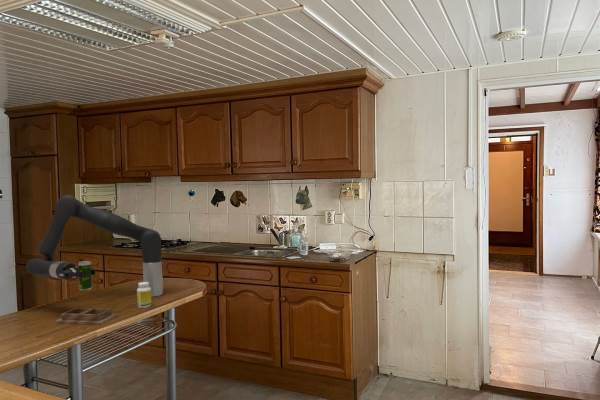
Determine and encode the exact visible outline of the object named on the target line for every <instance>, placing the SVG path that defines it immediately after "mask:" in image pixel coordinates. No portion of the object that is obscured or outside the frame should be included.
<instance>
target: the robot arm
mask: <svg viewBox="0 0 600 400" xmlns="http://www.w3.org/2000/svg"><path fill="white" fill-rule="evenodd" d="M71 217H74V218H76V219H80V220H82V221H86V222H88V223H89V224H91V225H93V226H94V227H97V228H98V229H101V230H102V231H105V232H108V233H111V234H114V235H118V236H122V237H127V238H130V239H133V240H135V241H137V242H139V243H140V244H141V251H142V252H141V253H142V254H141V257H142V271H143V272H142V275H143V282H149V286H148V287H150V288H151V298H152V297H159V296H162V295H163V294H164V282H163V281H164V280H163V279H164V278H163V266H162V265H163V264H162V263H163V261H162V259H163V257H162V238H161V234H160V233H159V232H158V231H157V230H154V229H151V228H147V227H144V226H142V225H138V224H136V223H135V222H132V221H131V220H128V219H126V218H125V217H122V216H121V215H118V214H116V213H113V212H110V211H107V210H104V209H100V208H97V207H94V206H93V207H92V206H90V205H88V204H86V203H84V202H82V201H80V200H79V199H77V198H76V197H75V196H74V195H68V194H66V195H62V196H61V197H60V198H59V199H58V200H57V203H56V207H55V211H54V215H53V218H52V220H51V222H50V225H49V227H48V229H47V231H46V233H45V235H44V237H43V238H42V239H43V240H42V241H41V244H39V245H40V246H39V247H38V251H37V252H38V254H40V255H41V256H43V259H40V258H32V259H29V260H28V261H27V263H26V265H25V268H26V271H27V272H28V273H29V274H31V275H36V276H42V277H50V278H56V279H59V280H72V279H74V278H78V277H80V278H83V277H84V273H83V272H78V266H76V264H75V263H73V262H68V261H67V262H66V261H55V253H56V251H57V249H58V247H59V245H60V242H61V240H62V237H63V234H64V231H65V229H66V226H67V223H68V222H69V220H70V218H71ZM96 273H97V272H96V269H93V267H92V276H96V275H97V274H96Z"/></svg>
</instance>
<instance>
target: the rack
mask: <svg viewBox="0 0 600 400" xmlns="http://www.w3.org/2000/svg"><path fill="white" fill-rule="evenodd" d="M60 314H61V317H60V318H58V319H55V320H54V324H61V325H64V324H65V325H91V326H102V325H103V324H105V323H107V322H109V321H111V320H112V319H115V318H116V317H118V313H113V312H112V309H111V308H87V307H86V308H84V307H74V308H72V309H70V310H67V311H65V312H63V313H60Z"/></svg>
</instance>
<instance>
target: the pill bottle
mask: <svg viewBox="0 0 600 400" xmlns="http://www.w3.org/2000/svg"><path fill="white" fill-rule="evenodd" d="M137 284H138V285H137V286H138V287H137V289H136V301H137V308H139V309H146V308H150V307H151V306H152V297H151V288H150V287H148V286H149V282H144V281H143V282H141V281H140V282H138V283H137Z"/></svg>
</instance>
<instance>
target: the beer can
mask: <svg viewBox="0 0 600 400" xmlns="http://www.w3.org/2000/svg"><path fill="white" fill-rule="evenodd" d="M77 267H78V272H83V273H84V277H83V278H80V277H77V278H78V283H77V284H78V290H79V291H89V290H92V289H93V275H92V268H93V267H92V261H91V260H82V261H81V260H80V261H79V262H78V264H77Z"/></svg>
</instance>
